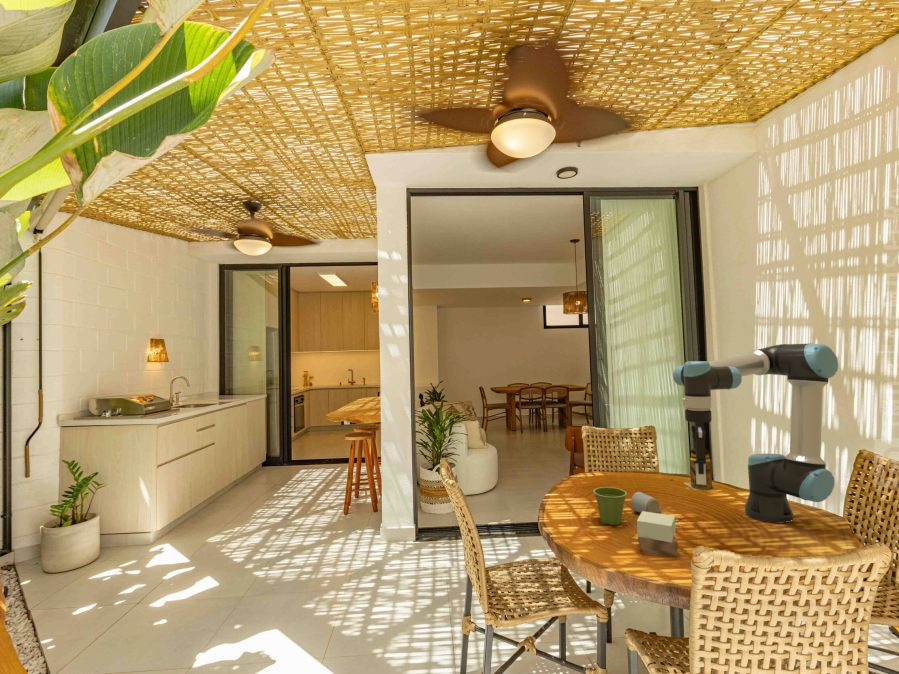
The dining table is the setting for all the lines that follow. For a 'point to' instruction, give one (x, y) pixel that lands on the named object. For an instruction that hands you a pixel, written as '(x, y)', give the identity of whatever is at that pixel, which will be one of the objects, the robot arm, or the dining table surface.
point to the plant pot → (610, 504)
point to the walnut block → (658, 547)
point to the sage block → (656, 526)
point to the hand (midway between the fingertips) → (700, 481)
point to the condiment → (693, 473)
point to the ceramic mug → (644, 503)
